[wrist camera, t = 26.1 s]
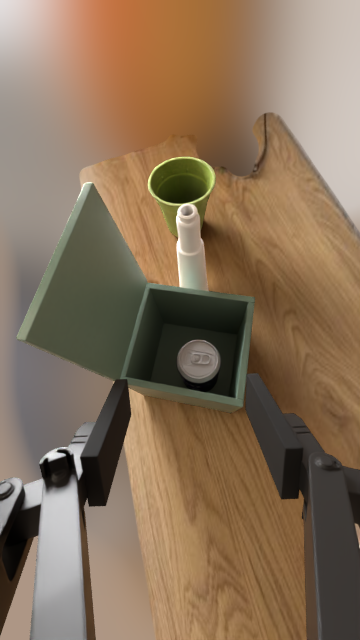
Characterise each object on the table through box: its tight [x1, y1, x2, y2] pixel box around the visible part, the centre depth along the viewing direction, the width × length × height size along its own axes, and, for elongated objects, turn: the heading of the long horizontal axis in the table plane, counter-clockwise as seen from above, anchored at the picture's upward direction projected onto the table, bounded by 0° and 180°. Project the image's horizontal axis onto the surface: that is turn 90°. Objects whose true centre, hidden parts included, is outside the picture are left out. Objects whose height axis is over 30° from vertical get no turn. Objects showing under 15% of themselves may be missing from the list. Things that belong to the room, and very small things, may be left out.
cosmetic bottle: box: [176, 204, 209, 291], centre depth 39 cm, size 6×6×22 cm
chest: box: [120, 283, 255, 413], centre depth 39 cm, size 15×14×14 cm
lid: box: [16, 183, 147, 381], centre depth 26 cm, size 15×14×1 cm
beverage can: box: [176, 340, 221, 392], centre depth 38 cm, size 6×6×12 cm
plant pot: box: [148, 157, 216, 237], centre depth 51 cm, size 12×12×11 cm
